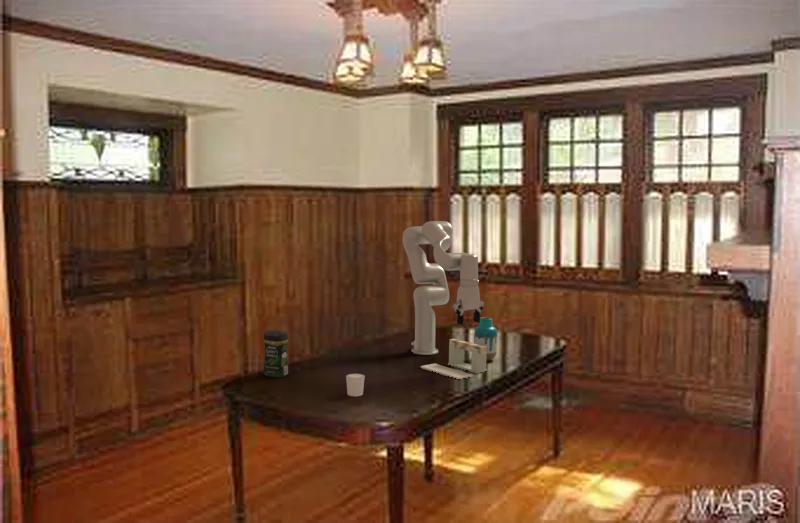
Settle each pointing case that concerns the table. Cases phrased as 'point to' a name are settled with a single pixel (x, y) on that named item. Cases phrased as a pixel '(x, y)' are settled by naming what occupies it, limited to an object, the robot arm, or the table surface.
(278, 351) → the coffee jar
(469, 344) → the rail
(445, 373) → the felt mat
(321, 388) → the table surface
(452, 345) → the cradle stand
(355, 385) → the shot glass
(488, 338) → the vase
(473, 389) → the table surface
